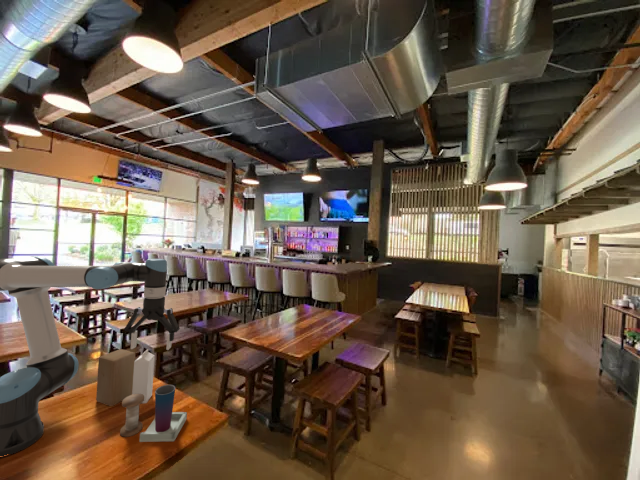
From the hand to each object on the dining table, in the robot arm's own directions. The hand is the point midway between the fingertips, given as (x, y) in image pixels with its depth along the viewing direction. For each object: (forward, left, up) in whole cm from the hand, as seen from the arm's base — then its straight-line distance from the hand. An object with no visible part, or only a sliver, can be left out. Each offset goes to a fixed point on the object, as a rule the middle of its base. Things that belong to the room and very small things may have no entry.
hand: (151, 348), depth 108 cm
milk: (-8, +12, -29) cm, 32 cm away
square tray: (+10, -7, -29) cm, 31 cm away
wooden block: (-20, +13, -29) cm, 37 cm away
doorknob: (-2, -7, -29) cm, 30 cm away
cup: (+9, -7, -28) cm, 30 cm away
